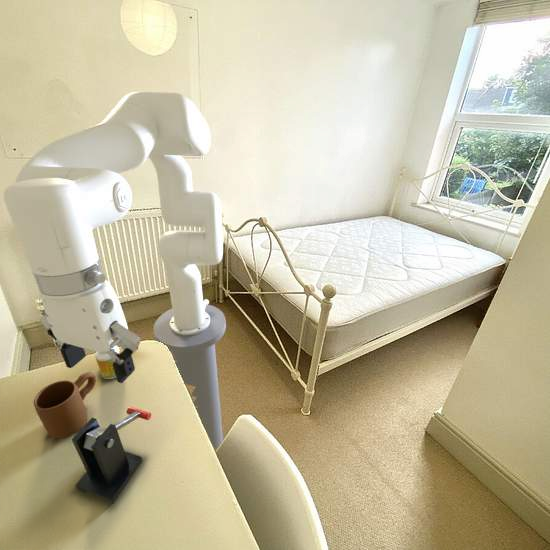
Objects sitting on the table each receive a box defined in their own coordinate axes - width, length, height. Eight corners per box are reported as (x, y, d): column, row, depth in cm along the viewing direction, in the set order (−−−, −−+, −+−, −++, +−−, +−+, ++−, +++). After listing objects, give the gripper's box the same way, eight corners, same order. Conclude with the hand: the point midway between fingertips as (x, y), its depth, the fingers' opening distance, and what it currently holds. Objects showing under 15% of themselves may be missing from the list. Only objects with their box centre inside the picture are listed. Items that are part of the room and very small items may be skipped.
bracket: (109, 448, 63) (93, 406, 57) (142, 460, 61) (129, 418, 55) (76, 489, 56) (54, 447, 50) (113, 504, 54) (94, 462, 48)
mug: (91, 390, 75) (81, 361, 71) (113, 402, 72) (103, 373, 68) (40, 430, 66) (24, 400, 61) (62, 446, 63) (47, 416, 58)
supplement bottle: (112, 382, 77) (103, 353, 73) (97, 375, 79) (86, 347, 74) (129, 368, 82) (121, 339, 77) (114, 361, 83) (105, 333, 79)
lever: (130, 414, 65) (132, 403, 65) (150, 421, 64) (152, 409, 64) (76, 445, 52) (79, 431, 52) (100, 454, 51) (103, 440, 51)
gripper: (144, 273, 42) (162, 365, 50) (46, 255, 46) (77, 342, 55) (102, 301, 36) (130, 401, 44) (-7, 277, 40) (37, 372, 48)
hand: (101, 368), depth 49 cm, fingers open, 9 cm apart
